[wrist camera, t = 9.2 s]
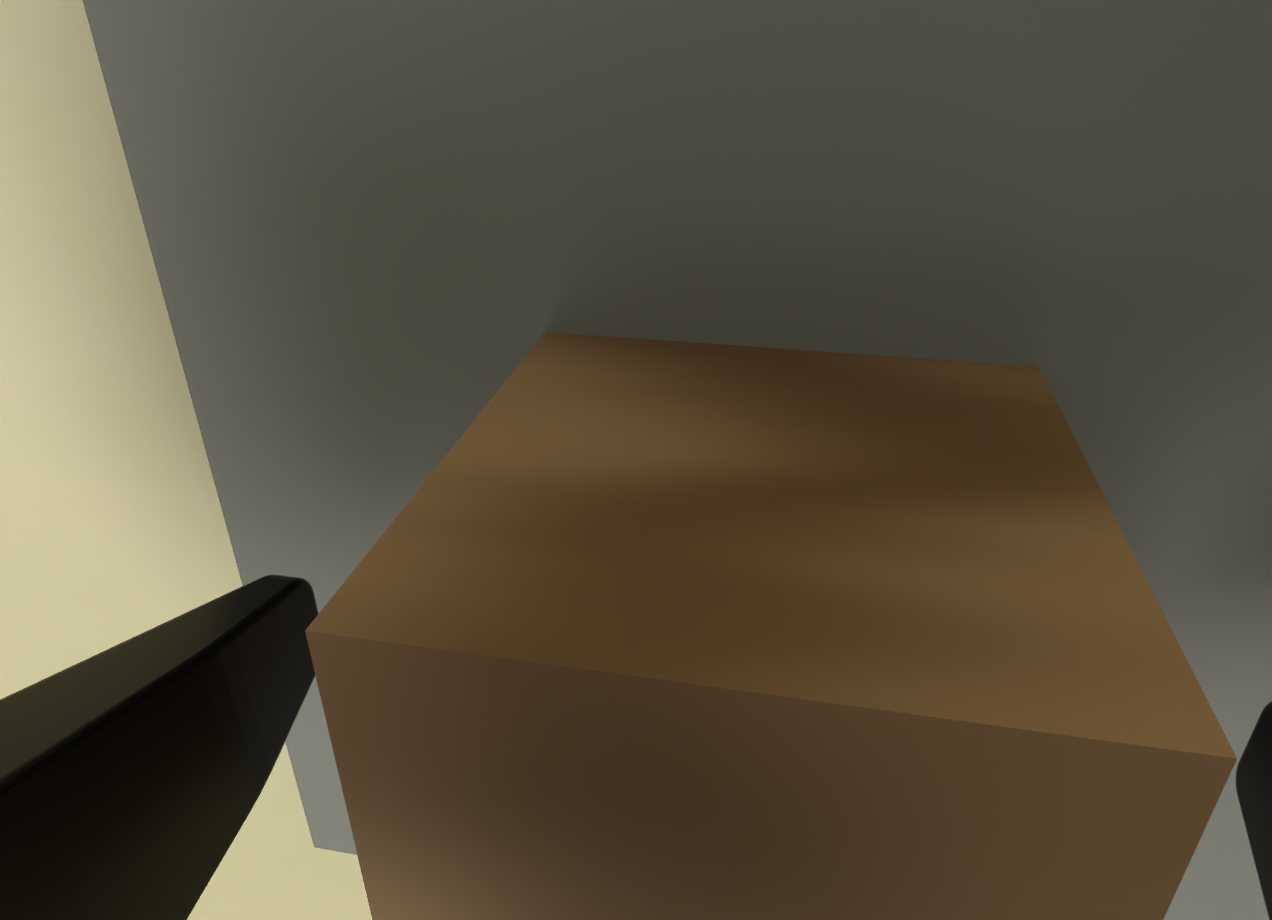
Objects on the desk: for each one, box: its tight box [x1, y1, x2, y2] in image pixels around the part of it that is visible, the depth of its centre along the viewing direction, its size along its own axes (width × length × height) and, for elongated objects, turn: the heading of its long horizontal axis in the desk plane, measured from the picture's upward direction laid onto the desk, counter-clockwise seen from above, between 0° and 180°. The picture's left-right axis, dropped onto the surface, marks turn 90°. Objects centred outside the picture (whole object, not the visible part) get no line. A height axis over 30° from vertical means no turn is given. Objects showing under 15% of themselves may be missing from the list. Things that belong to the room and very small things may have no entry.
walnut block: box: [305, 332, 1237, 920], centre depth 8 cm, size 5×5×5 cm
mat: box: [83, 0, 1272, 920], centre depth 11 cm, size 14×14×1 cm
